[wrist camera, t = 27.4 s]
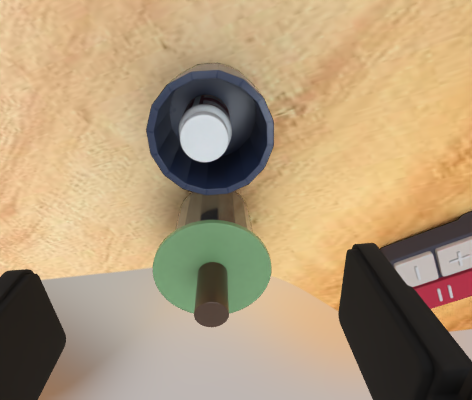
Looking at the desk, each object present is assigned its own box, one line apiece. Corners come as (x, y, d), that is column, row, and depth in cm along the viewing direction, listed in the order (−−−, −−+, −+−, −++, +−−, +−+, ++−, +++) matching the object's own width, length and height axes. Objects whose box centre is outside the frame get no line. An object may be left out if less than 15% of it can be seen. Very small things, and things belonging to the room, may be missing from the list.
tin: (157, 66, 30) (135, 75, 22) (259, 59, 31) (273, 66, 23) (172, 163, 35) (159, 198, 27) (261, 157, 35) (273, 190, 27)
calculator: (390, 266, 39) (519, 221, 36) (376, 245, 43) (492, 203, 40) (408, 319, 44) (524, 284, 40) (394, 296, 47) (499, 262, 44)
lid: (144, 220, 28) (126, 265, 22) (269, 211, 28) (281, 253, 22) (165, 311, 33) (154, 365, 27) (269, 302, 33) (280, 355, 27)
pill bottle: (196, 146, 34) (190, 175, 26) (176, 104, 32) (164, 123, 24) (236, 129, 33) (241, 154, 26) (219, 86, 31) (219, 100, 24)
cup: (174, 188, 37) (161, 231, 28) (246, 182, 37) (255, 224, 28) (184, 247, 40) (175, 300, 32) (249, 242, 41) (257, 294, 32)
